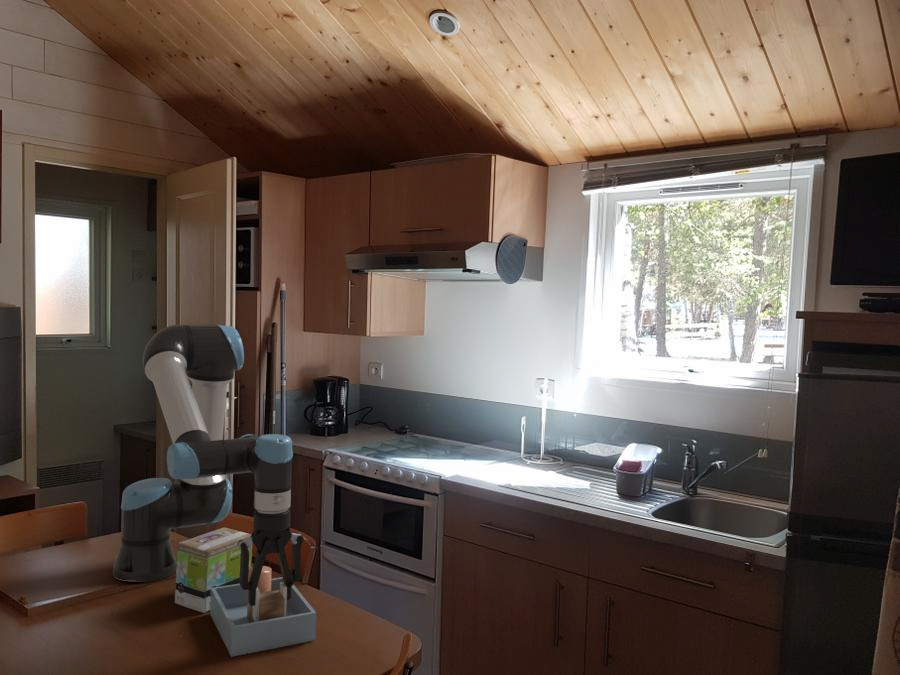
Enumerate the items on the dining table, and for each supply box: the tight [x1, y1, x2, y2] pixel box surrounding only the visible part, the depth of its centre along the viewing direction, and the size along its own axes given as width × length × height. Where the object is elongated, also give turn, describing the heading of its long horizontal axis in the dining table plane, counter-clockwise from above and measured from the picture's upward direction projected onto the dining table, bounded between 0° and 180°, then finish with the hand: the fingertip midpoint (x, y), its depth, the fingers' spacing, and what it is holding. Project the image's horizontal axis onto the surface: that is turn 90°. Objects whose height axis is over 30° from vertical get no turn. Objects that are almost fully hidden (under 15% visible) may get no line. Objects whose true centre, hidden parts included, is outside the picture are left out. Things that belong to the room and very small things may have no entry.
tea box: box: [174, 527, 253, 614], centre depth 175 cm, size 15×10×15 cm, turn 153°
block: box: [259, 590, 285, 621], centre depth 155 cm, size 5×5×5 cm
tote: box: [209, 576, 317, 658], centre depth 161 cm, size 22×18×6 cm
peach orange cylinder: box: [247, 565, 273, 623], centre depth 163 cm, size 5×5×11 cm
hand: (269, 616), depth 156 cm, fingers closed on block, 5 cm apart
